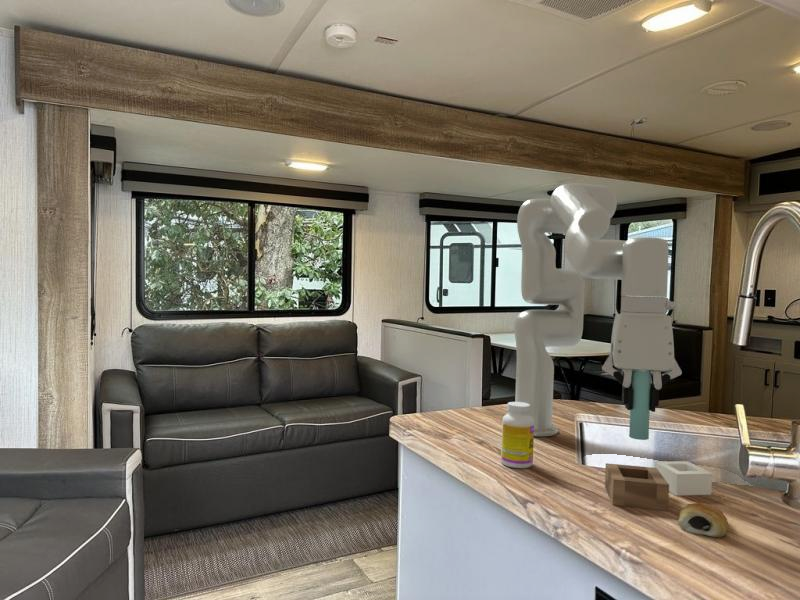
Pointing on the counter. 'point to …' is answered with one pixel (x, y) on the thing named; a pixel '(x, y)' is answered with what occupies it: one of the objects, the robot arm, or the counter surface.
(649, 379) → the dowel
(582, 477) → the counter surface
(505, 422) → the supplement bottle
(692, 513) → the pastry
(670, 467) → the white square holed block
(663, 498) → the brown square wooden frame
